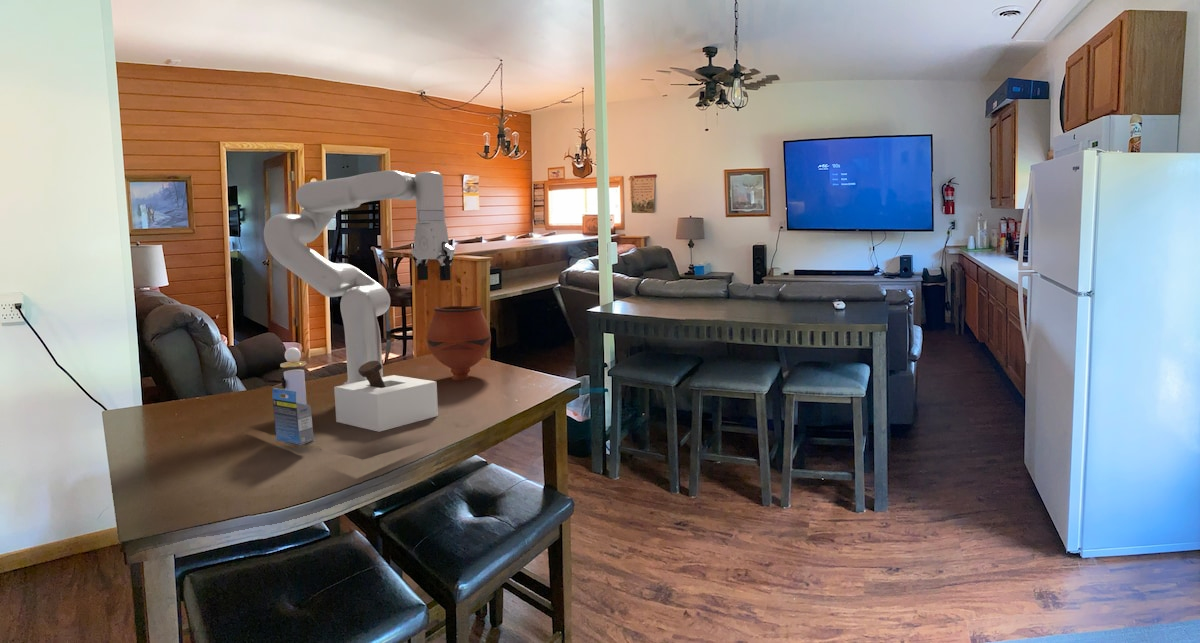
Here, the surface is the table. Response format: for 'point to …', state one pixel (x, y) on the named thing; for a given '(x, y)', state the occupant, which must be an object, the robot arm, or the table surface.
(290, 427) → the label tape box
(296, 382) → the perfume bottle
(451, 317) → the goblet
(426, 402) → the hitch block
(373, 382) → the bolt
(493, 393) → the table surface
